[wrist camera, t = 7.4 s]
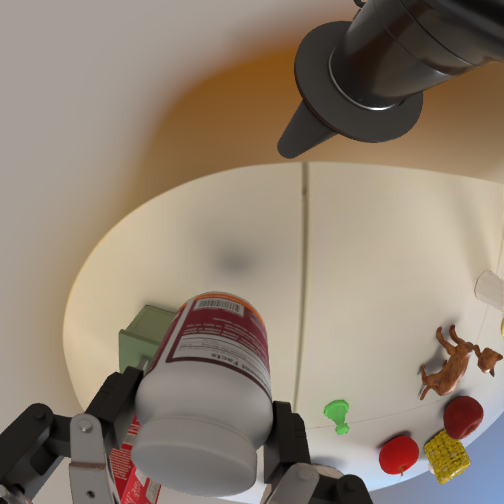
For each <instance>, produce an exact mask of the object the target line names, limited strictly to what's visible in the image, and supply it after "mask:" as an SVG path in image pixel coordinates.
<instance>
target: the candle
mask: <svg viewBox="0 0 504 504" xmlns="http://www.w3.org/2000/svg"><path fill="white" fill-rule="evenodd" d="M501 334H502V336H503V337H504V320H503V323H502V327H501Z"/></svg>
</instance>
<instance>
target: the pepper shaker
mask: <svg viewBox="0 0 504 504" xmlns="http://www.w3.org/2000/svg"><path fill="white" fill-rule="evenodd" d="M475 294H476V298H477V299H478V300H480V301H482V302H484V303H486V304H488V305H490V306H492V307H494V308H496V309H498V310H500V311H502V312H504V281H503V280H502V279H501V278H499V277H498V276H497V275H495V274H494V273H492V272H489V271H484V273H483V274H482V275H481V276H480V277H479V278H478V280H477V284H476V287H475Z"/></svg>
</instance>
